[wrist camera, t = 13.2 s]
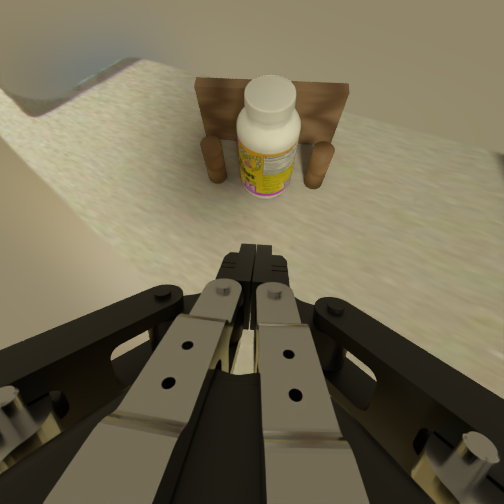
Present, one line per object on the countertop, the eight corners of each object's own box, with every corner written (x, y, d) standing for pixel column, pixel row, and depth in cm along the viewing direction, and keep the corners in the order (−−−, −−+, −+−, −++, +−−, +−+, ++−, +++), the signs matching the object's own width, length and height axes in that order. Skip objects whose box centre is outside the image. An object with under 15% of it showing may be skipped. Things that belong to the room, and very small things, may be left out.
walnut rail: (329, 136, 37) (348, 83, 29) (330, 144, 36) (349, 92, 29) (208, 130, 38) (196, 77, 30) (206, 138, 37) (194, 86, 30)
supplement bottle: (236, 166, 35) (225, 73, 23) (281, 155, 36) (293, 59, 24) (248, 206, 33) (243, 126, 21) (296, 194, 34) (318, 110, 21)
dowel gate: (321, 174, 35) (334, 141, 29) (321, 189, 34) (335, 158, 28) (210, 168, 35) (202, 135, 30) (208, 183, 34) (198, 151, 29)
